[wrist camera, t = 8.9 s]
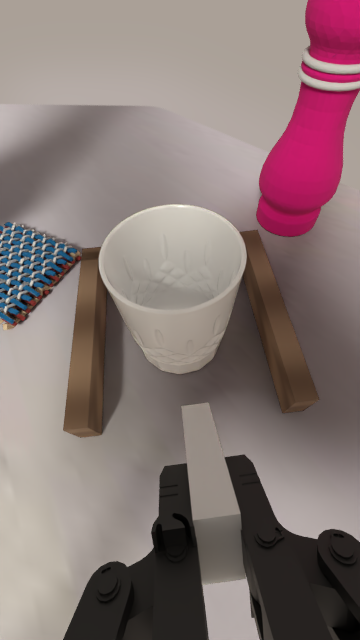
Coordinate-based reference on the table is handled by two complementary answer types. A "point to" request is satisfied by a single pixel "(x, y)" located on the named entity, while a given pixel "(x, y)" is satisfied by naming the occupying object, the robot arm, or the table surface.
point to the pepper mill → (314, 122)
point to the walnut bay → (269, 316)
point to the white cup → (174, 281)
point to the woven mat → (28, 269)
